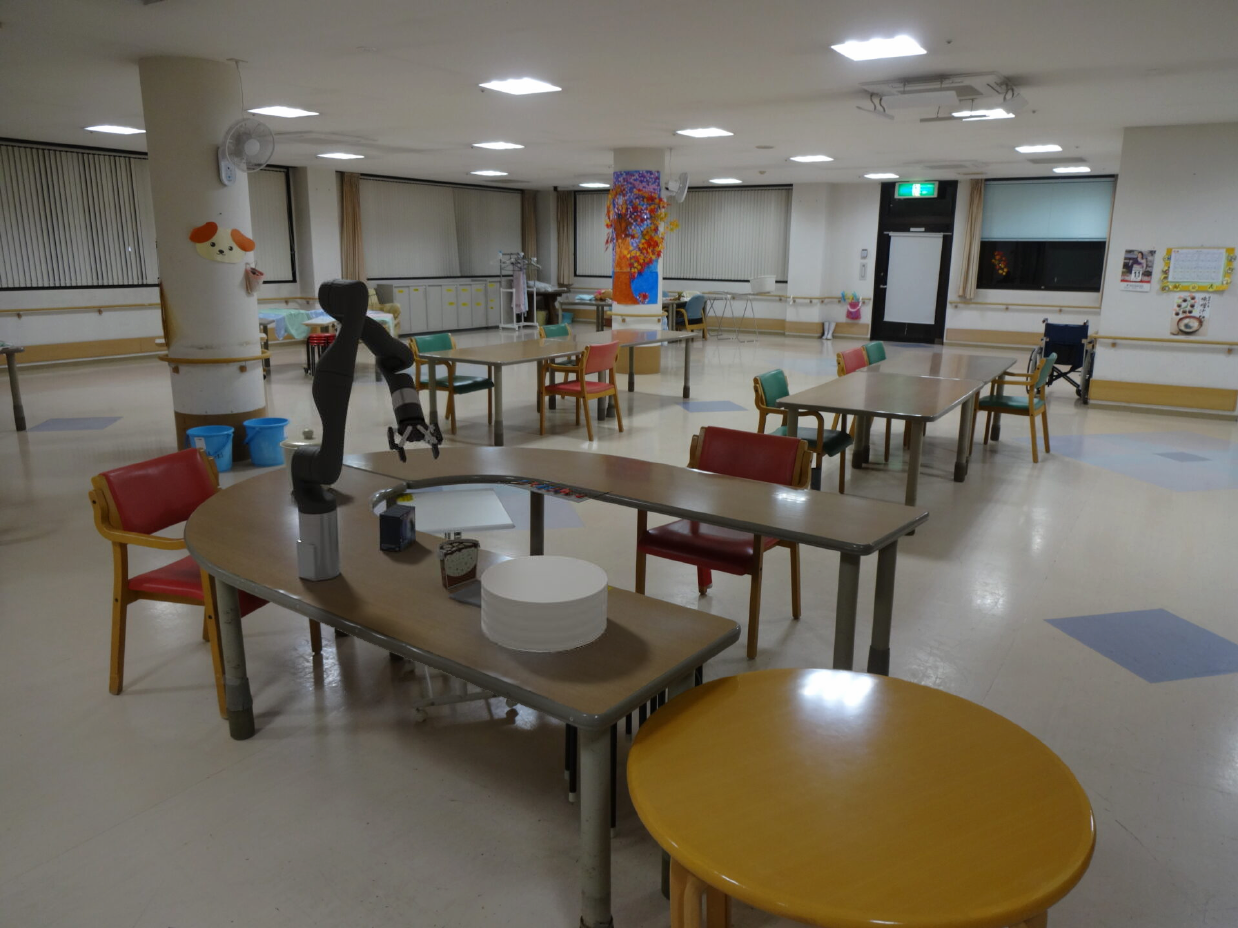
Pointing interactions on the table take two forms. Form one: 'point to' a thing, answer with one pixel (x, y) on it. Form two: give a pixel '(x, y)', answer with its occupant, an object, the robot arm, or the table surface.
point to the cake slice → (458, 561)
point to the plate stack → (544, 602)
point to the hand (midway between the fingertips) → (420, 459)
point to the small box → (397, 527)
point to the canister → (293, 443)
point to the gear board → (551, 491)
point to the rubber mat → (469, 594)
